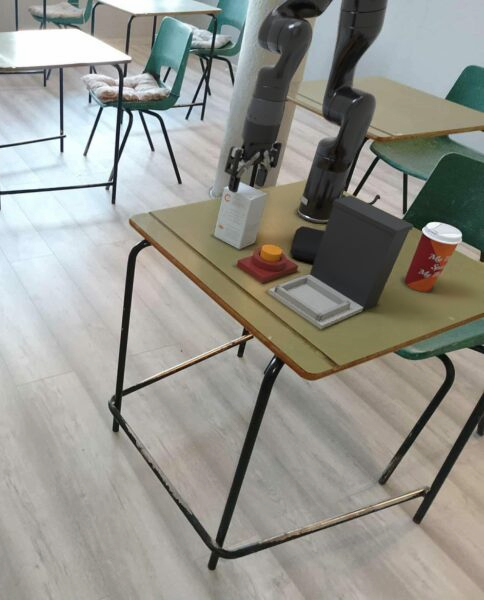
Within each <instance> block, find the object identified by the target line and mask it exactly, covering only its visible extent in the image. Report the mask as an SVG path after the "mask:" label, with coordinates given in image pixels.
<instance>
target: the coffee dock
mask: <svg viewBox="0 0 484 600" xmlns="http://www.w3.org/2000/svg"><path fill="white" fill-rule="evenodd" d="M368 203H369V202H366V201H364V200H361V199H360V198H358V197H355V196H353V195H346V197H343V198H339V199H335V200H334V201H333V205H334V206H333V209H332V212H331V214H330V217H329V220H328V223H326V226H325V229H324V231H325V232H324V235H323V237H322V240H321V243H320V246H319V249H318V252H317V255H316V258H315V261H314V263H312V266H311V269H310V272H309V274H304V275H302V276H299V277H297V278H294V279H291V280H288V281H286V282H283V283H280V284H277V285H275V286H274V287H271V288H269V289H268V290H267V293H268V294H269V295H270V296H272V297H273V298H275V299H276V300H278V302H280V303H281V304H283V305H285V306H286V307H287V308H289V309H291V310H292V311H293V312H295V313H296V314H298V315H299V316H301V317H302V318H304V319H305V320H307V321H308V322H309V323H310V324H313V325H314V326H315V327H317V328H318V329H319V330H323V329H325V328H328V327H329V326H331V325H334V324H336V323H339V322H341V321H343V320H345V319H348V318H350V317H352V316H355V315H356V314H359V313H361V312H364V311H366V310H368V309H370V308H372V307H375V306H377V304H378V302H379V300H380V298H381V296H382V294H383V291H384V289H385V287H386V284H387V282H388V280H389V278H390V275H391V273H392V271H393V269H394V267H395V264H396V262H397V259H398V257H399V255H400V253H401V251H402V248H403V246H404V244H405V242H406V239H407V238H408V235H409V232H410V231H411V230H413V227H414V224H412V223H411V222H408V221H406V220H405V219H402V218H399V216H396V215H394V214H392V213H390V212H387V211H386V210H383V209H381V208H379V207H376V206H374V205H370V204H368Z"/></svg>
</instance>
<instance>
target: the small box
mask: <svg viewBox="0 0 484 600" xmlns="http://www.w3.org/2000/svg"><path fill="white" fill-rule="evenodd" d="M267 197H268V193H266V192H264V191H261V190H259V189H258V188H255V187H252V186H251V185H248V184H246V183H244V182H241V181H240V183H239V187H238V191H237V192H235V193H233V192H232V191H230V190H229V188H228V185H227V186H224V187H223V191H222V197H221V202H220V206H219V211H218V213H217V214H218V215H217V220H216V224H215V229H214V233H213V237H215V238H217V239H219V240H220V241H223V242H224V243H226V244H228V245H230V246H232V247H234V248H235V249H237V250H241V249H244V248H246V247H248V246H250V245H252V244H255V243H256V240H257V236H258V232H259V229H260V225H261V220H262V216H263V213H264V209H265V205H266V201H267Z"/></svg>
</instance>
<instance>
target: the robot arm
mask: <svg viewBox="0 0 484 600" xmlns="http://www.w3.org/2000/svg"><path fill="white" fill-rule="evenodd" d="M333 1H334V0H282V1H281V2H280V3H278V4H277V6H275V7H274V8H273V9H271V11H270V12H269V13H267V15H266V16H265V17H264V19H263V20H262V22H261V24H260V26H259V27H258V30H257V44H258V45H259V47H260V48H261V49H263V50H264V51H266V52H270V53H274V54H277V55H279V58H278V60H277V62H275V64H266V65H263V66H261V67H260V68H259V69H258V71H257V74H256V77H255V81H254V86H253V89H252V95H251V97H250V100H249V103H248V106H247V110H246V115H245V119H244V123H243V128H242V132H241V138H242V140H243V141H242V144H241V146H240V147H236V146H234V145H232V146H231V147H230V149H229V153H228V155H227V159H226V163H225V167H224V173H225V174H228V175H229V176H230V177H229V181H228V185H227V186H228V188H229V190H230V191H232V192H233V193H235V192H237V191H238V187H239V183H240V182H241V178H242V176H243V174H244V173H245V171H248V170H249V169H250V168H251V166H254V165H258V166H259V168H258V169H257V173H256V177H255V180H254V184H255V186H258V187H259V188H262V187H264V186H265V183H266V181H267V177H268V174H269V172H270V171H271V170H272V169H276V168H277V167H278V164H279V163H278V162H279V159H280V155H281V150H282V146H283V143H282V142H280V141H278V136H279V132H280V129H281V125H282V122H283V118H284V114H285V111H286V102H287V98H288V95H289V90H290V88H291V83H292V80H293V79H294V76H295V75H296V72H297V70H298V68H299V67H300V65H301V63H302V61H303V60H304V58H305V56H306V55H307V53H308V50H309V48H310V47H311V44H312V41H313V27H312V24H311V22H310V21H308V19H316V18H318V17H321V16H322V15H323V14H324V12H326V10H328V8H329V6H330V5H331V4H332V3H333ZM388 2H389V0H341V3H340V7H339V15H338V20H337V32H336V38H335V44H334V50H333V56H332V61H331V66H330V70H329V75H328V79H327V83H326V88H325V91H324V95H323V100H322V106H321V114H322V117H323V119H324V120H325V121H326V122H328V123H329V124H332V125H334V126H336V127H339V128H340V129H339V131H338V133H337V135H336V137H335V136H334V137H333V136H331V137H324V138H322V139H320V140H318V141H319V142H318V143H317V146H316V150H315V153H314V156H313V160H312V162H311V167H310V170H309V173H308V176H307V178H306V182H305V186H304V189H303V192H302V195H301V197H300V200H299V201H300V202H299V205H298V207H297V211H296V213H297V215H298V216H299V218H302V219H303V220H305V221H308V222H311V223H317V224H327V223H328V220H329V217H330V214H331V212H332V209H333V206H334V205H333V201H334V200H335V199H339V198H343V197H346V196H347V195H346V194H344V193H345V190H346V186H347V184H346V183H347V180H348V177H349V174H350V170H351V168H352V165H353V163H354V160H355V157H356V154H357V153H358V151H359V149H360V148H361V147H362V145H363V142H364V140H365V138H366V136H367V132H368V130H369V128H370V127H371V123H372V121H373V118H374V115H375V113H376V108H377V98H376V96H375V95H374V94H372V93H371V92H369V91H365V90H363V89H361V88H360V89H359V88H358V87H354V80H355V75H356V70H357V67H358V65H359V62H360V61H361V59H362V58H363V56H364V55H365V54H366V52H367V51H368V50H369V49H370V48H371V47H372V45H373V44H374V43H375V42H376V41H377V39H378V37H379V36H380V34H381V33H382V30H383V27H384V24H385V23H384V22H385V18H386V13H387V8H388V4H389V3H388ZM272 158H273V159H272ZM238 169H239V170H238ZM380 199H381V195H380V194H376V195H375V196H374V198H373V200H372V201H370V202H367V203H368V204H370V205H372V206H374V205H375V203H376V202H377V201H378V200H380Z"/></svg>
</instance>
